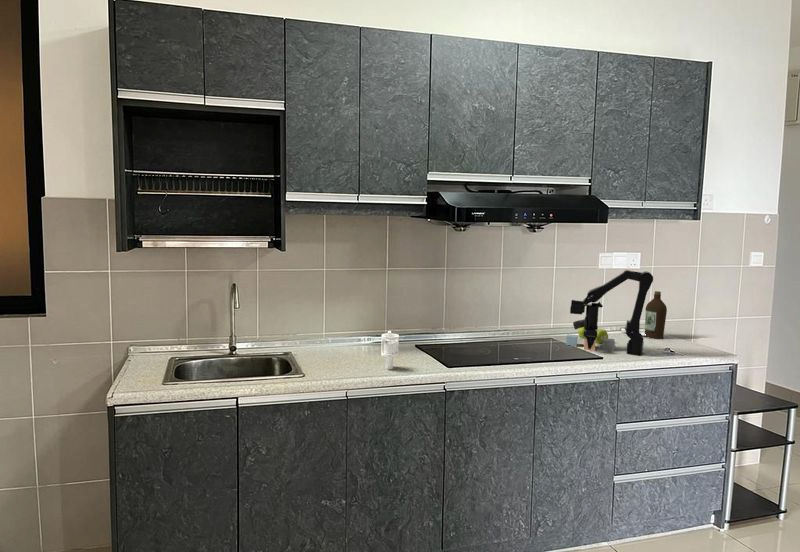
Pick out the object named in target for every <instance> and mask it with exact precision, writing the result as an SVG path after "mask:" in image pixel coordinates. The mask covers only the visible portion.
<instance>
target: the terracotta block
mask: <svg viewBox="0 0 800 552" xmlns="http://www.w3.org/2000/svg"><path fill="white" fill-rule="evenodd" d="M584 350H585V351H593V352H595V350H596V342H595V341H594V343H593V345H592V347H591V349H588V343H587V338H584V345H583V351H584Z"/></svg>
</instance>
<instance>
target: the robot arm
mask: <svg viewBox="0 0 800 552" xmlns="http://www.w3.org/2000/svg"><path fill="white" fill-rule="evenodd" d="M627 280H631V281H636V282H638V292H637V295H636V299H635V303H634V307H633V311H632V316H631V318H630V320H628V319H627V320H626V324H625V325H626V326H625V327H624V330H625V333H626V336H627V337H628V338H630V339H629V340H628V341H627V343H626V354H629V355H634V356H642V355H644V353H645V352H644V335H643V334H642V333H641V332H640V329H641V326H640V323H641V316H642V313H643V310H644V305H645V301H646V298H647V294H648V292H649V290H650V288H651V286H652V284H653V282H654V276H653V274H652V273H651V272H650V271H642V272H641V271H633V270H629V269H626V270H624V271H623V272H621V273H619V274H618V275H616V276H615V277H613V278H611V280H609V281H607V282H606V283H604V284H602V285H599V286H597V287H594V288H592V289H589V290H588V292H587V294H586V297H585V298H583V300H576V299H571V301H570V307H569V308H570V309H569V313H570V315H583V314H584V313H585V316H584V319H579V320H575V321H573V322H572V325H573V329H574V330H579V328H582V327H584V328H585V330H584V336H585V337H586V338H587V343H588V349H591V347H592V345H593V343H594V341H595V340H596V338H597V330H599V329H598V326H599V325H598V323H599V322H598V321H599V311H600V310H599V308H603V307H604V305H603V304H602V303H601V302H600V299H602V298H603V297H604V296H605V295H606V294H607V293H608V292H610V291H611V290H613V289H615V288H616V287H618V286H619V285H621V284H622V283H625V281H627ZM598 301H599V302H598Z"/></svg>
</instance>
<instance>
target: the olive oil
mask: <svg viewBox="0 0 800 552" xmlns="http://www.w3.org/2000/svg"><path fill="white" fill-rule="evenodd" d="M653 293H654V294H653V298H652V299H651V300H650V301H649V302H648V303H647V304H646V305H645V310H644V311H645V313H644V314H645V319H644V335H645V334H646V336H647V337H649V338H648V339H652V338H654V339H653V340H663V339H664V335H665V326H666V318H667V314H668V309H667V305H666V304H665V303H664V301H663V300H662V299H661V296H662V294H661V293H662V291H660V290H659V291H657V290H655V291H654V292H653ZM647 337H646V338H647Z"/></svg>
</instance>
